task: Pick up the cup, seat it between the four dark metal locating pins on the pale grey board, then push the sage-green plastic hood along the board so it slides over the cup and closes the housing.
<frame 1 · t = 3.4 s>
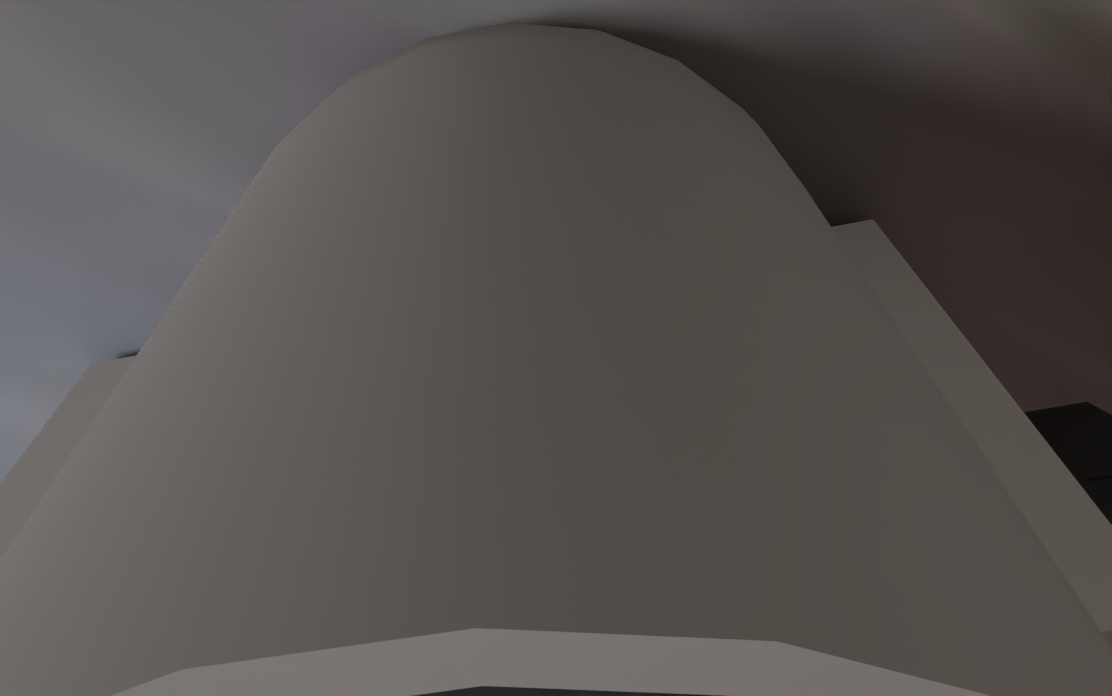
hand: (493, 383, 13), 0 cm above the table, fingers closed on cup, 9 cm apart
cup: (460, 360, 13), on the table, touching gripper
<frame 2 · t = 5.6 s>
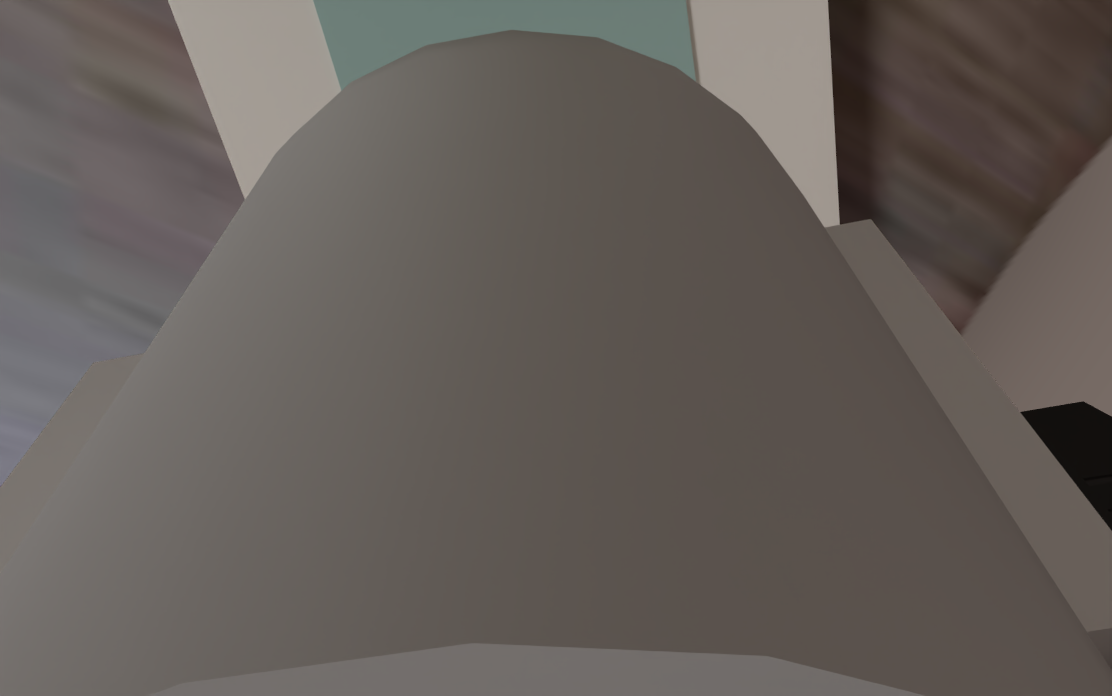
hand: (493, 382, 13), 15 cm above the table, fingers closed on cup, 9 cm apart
cup: (460, 364, 13), point 15 cm above the table, touching gripper
when the fingers open (3 cm above the table, at t = 7.9 s): cup drops 1 cm, resting on board.
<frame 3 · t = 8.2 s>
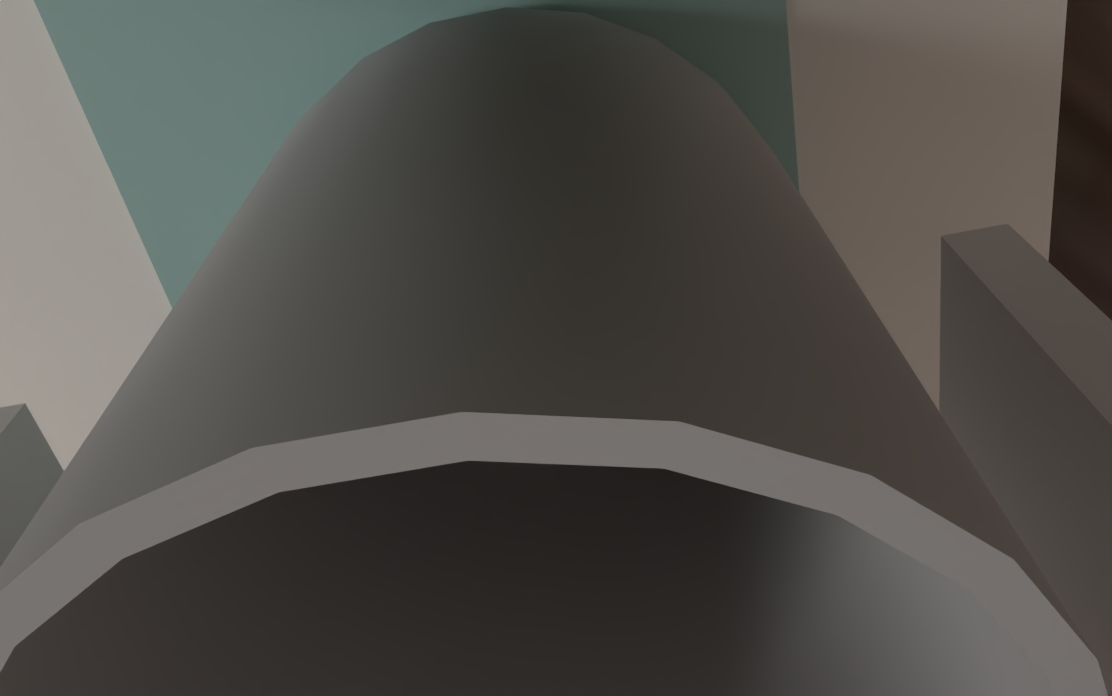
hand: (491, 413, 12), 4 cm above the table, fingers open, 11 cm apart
cup: (466, 321, 14), point 1 cm above the table, touching board
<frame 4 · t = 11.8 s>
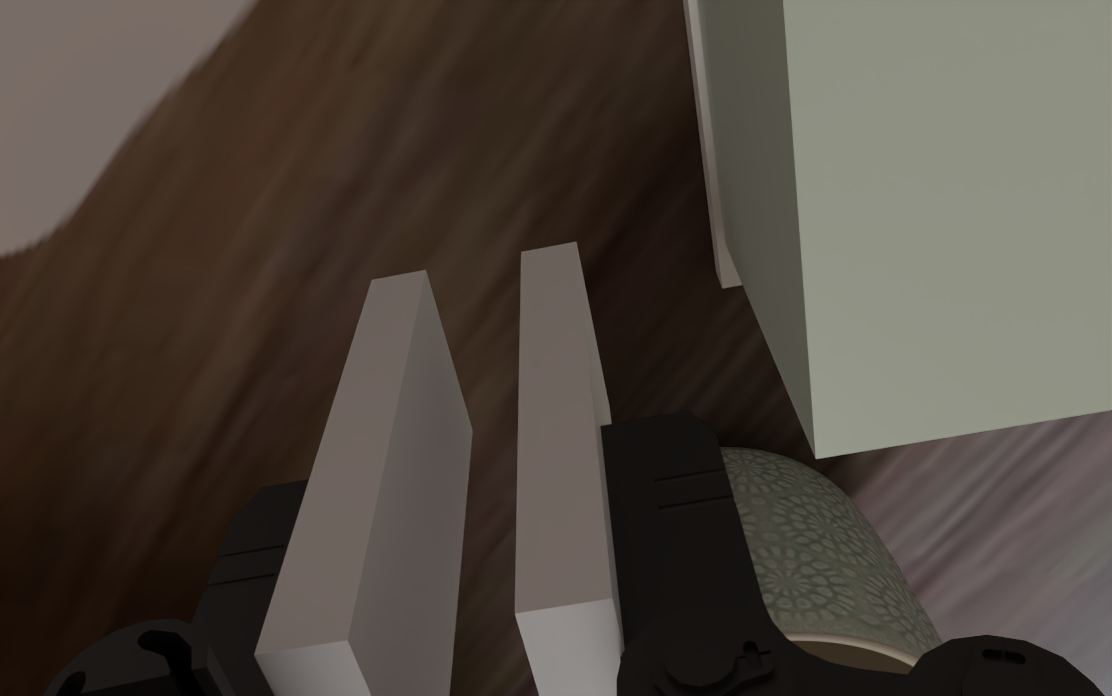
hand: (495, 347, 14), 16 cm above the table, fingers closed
hood: (1103, 15, 21), point 7 cm above the table, slide at 0.0 cm
planter: (707, 528, 37), on the table
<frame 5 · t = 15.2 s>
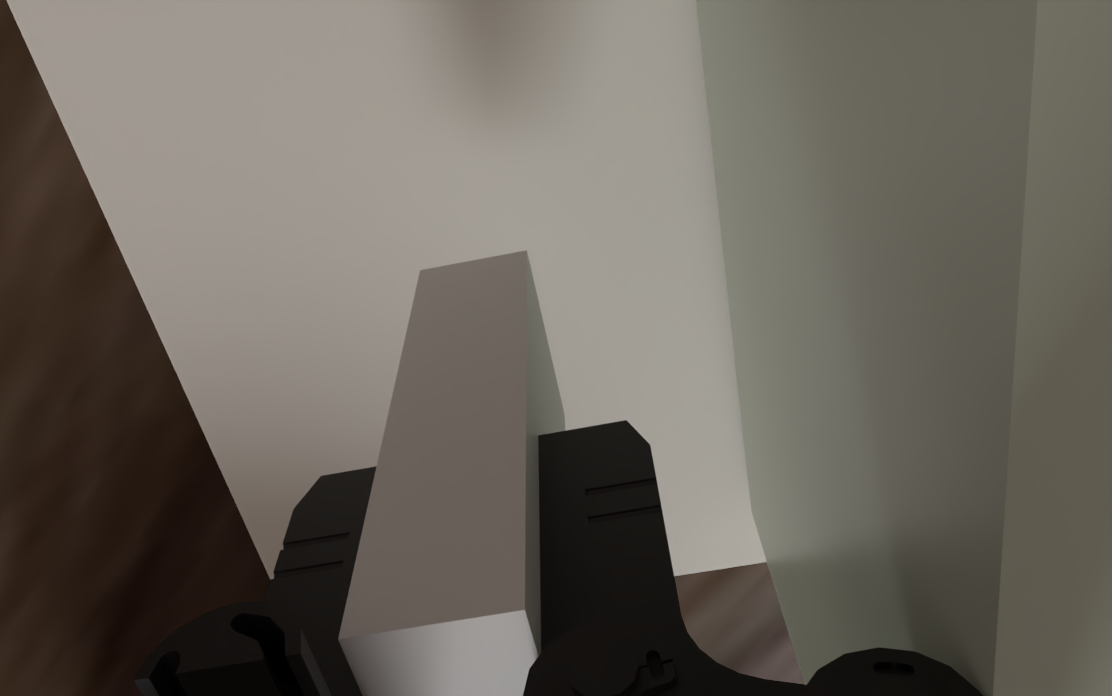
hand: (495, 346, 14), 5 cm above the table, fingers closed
board: (1003, 134, 17), on the table
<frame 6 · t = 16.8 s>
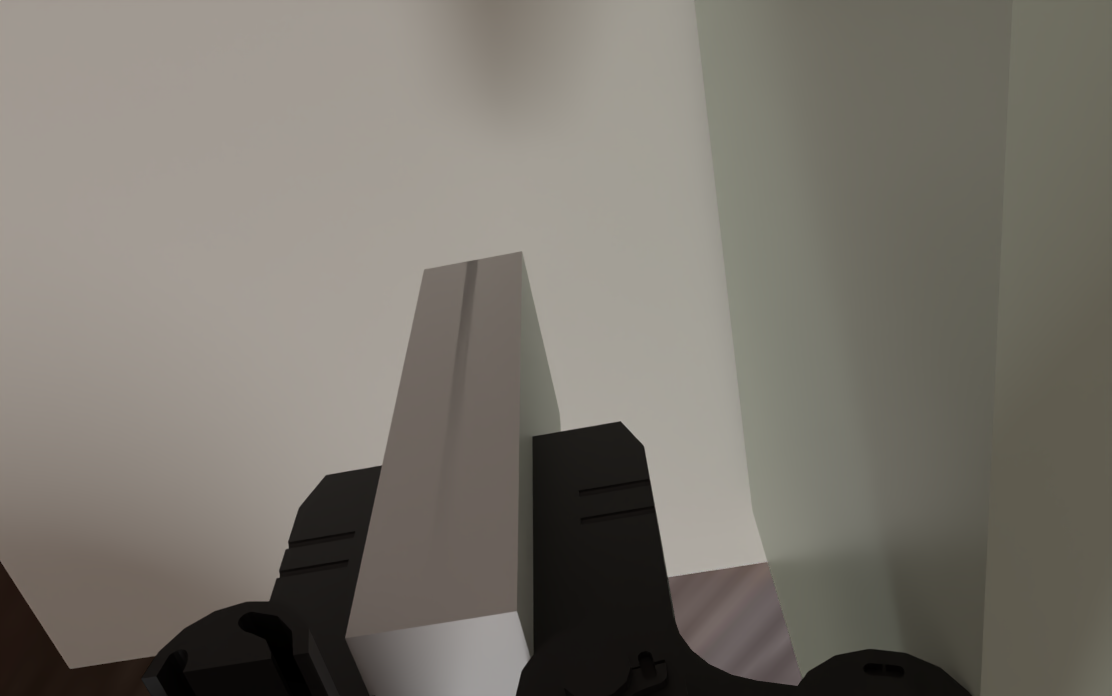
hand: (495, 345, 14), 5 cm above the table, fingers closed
board: (704, 188, 17), on the table
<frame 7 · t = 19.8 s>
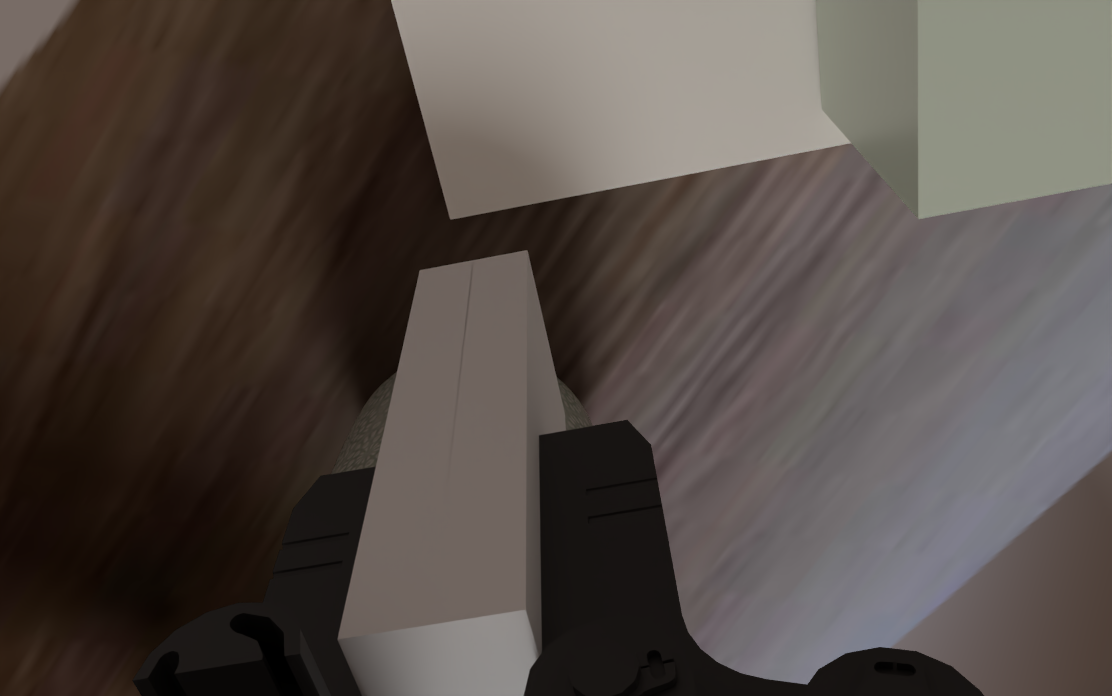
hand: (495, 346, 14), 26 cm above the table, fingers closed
planter: (478, 421, 47), on the table
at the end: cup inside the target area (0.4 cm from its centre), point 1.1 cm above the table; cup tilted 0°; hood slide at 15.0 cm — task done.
